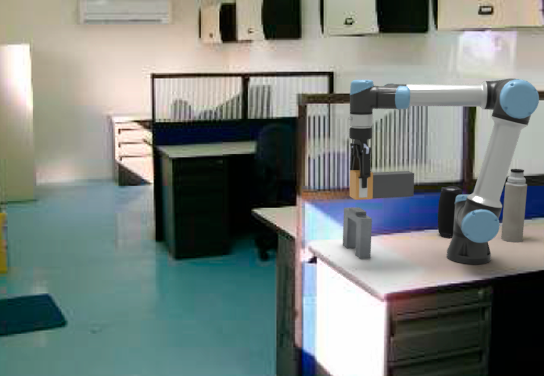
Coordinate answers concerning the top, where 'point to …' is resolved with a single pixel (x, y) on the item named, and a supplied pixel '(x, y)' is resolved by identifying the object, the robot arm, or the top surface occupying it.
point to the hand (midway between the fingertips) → (359, 195)
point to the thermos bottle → (514, 207)
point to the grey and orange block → (383, 184)
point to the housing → (357, 231)
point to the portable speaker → (447, 210)
